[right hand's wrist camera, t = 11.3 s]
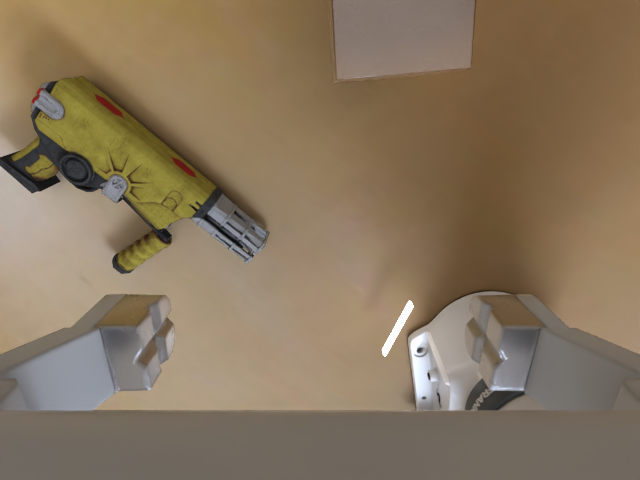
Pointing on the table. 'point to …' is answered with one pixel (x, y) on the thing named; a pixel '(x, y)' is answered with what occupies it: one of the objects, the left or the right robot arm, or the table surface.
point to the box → (399, 38)
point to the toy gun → (124, 170)
